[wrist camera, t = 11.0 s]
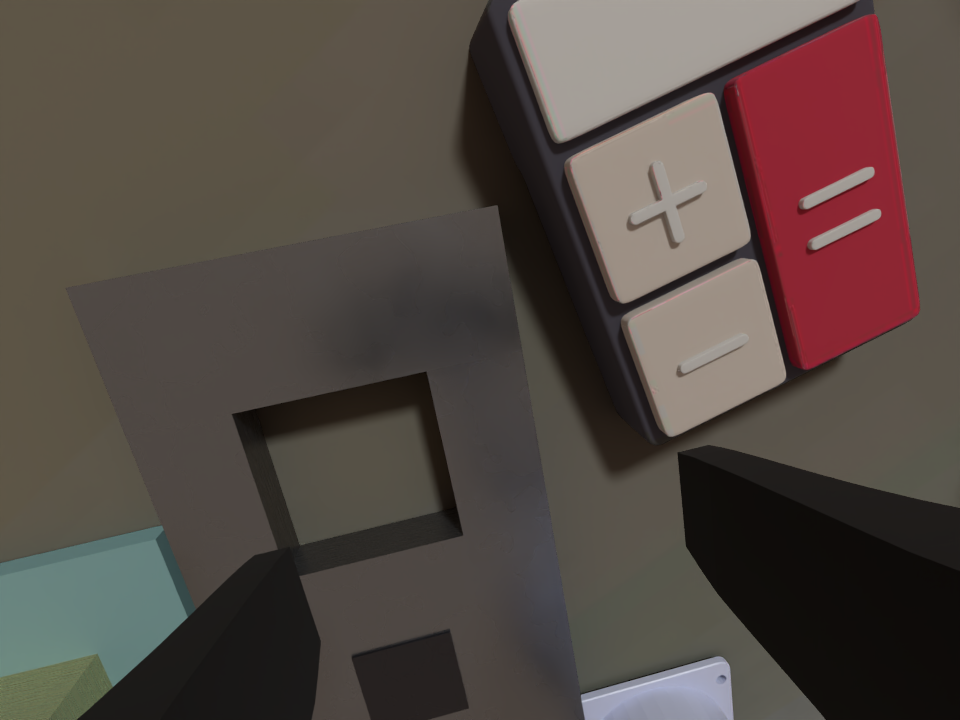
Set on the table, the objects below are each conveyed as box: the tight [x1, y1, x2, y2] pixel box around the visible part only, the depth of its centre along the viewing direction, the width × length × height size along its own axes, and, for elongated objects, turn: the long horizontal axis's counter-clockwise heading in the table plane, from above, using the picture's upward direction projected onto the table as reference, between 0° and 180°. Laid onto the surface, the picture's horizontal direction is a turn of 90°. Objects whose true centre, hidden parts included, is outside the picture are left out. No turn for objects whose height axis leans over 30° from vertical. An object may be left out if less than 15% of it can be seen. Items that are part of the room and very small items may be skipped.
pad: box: [0, 525, 196, 687], centre depth 20 cm, size 12×11×1 cm
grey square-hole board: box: [66, 205, 585, 720], centre depth 19 cm, size 22×13×2 cm, turn 11°
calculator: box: [470, 0, 920, 445], centre depth 17 cm, size 11×4×15 cm
